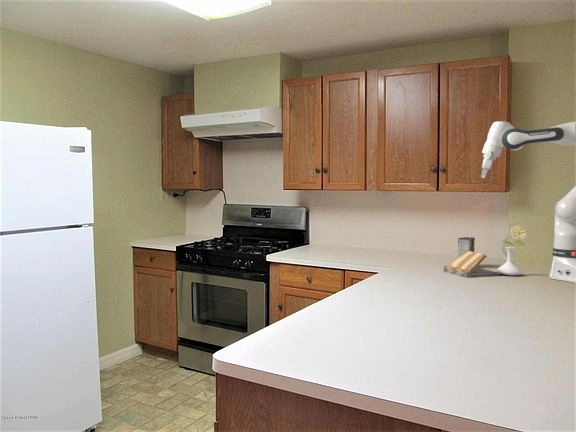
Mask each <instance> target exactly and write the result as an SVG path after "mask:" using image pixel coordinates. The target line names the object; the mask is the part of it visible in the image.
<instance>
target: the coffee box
mask: <svg viewBox="0 0 576 432" xmlns="http://www.w3.org/2000/svg"><path fill="white" fill-rule="evenodd" d="M475 240H476V239H475V237H470V236H468V237H467V236H462V237H459V238H458V241H457V257H458V256H459V255H460V254H461V253H462V252H463V251H464V250H465V251H470V252H475Z"/></svg>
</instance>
